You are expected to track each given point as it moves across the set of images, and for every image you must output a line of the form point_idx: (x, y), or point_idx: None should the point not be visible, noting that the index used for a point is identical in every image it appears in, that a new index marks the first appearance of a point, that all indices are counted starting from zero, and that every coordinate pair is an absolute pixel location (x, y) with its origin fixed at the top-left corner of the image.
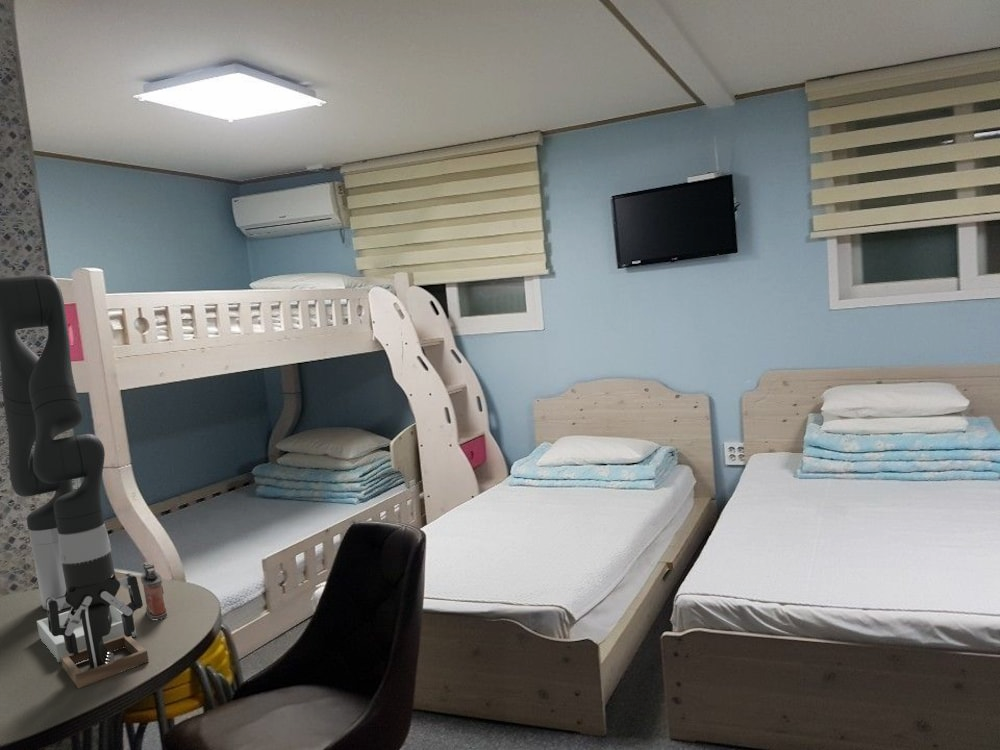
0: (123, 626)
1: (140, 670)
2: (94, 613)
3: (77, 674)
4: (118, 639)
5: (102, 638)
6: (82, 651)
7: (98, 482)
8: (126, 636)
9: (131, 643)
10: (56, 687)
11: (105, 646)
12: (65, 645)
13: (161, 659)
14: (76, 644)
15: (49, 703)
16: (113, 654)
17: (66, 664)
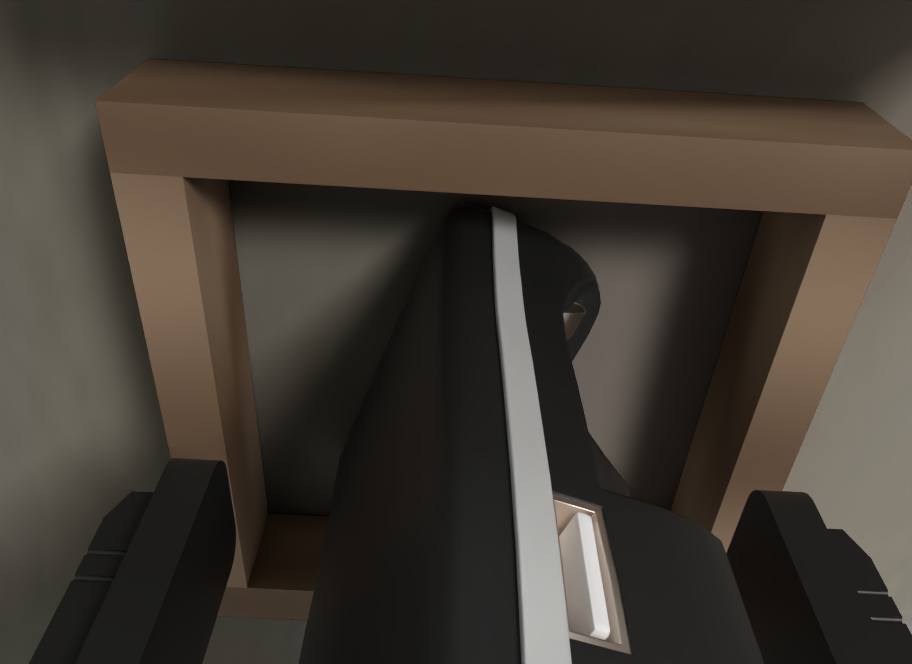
0: (787, 572)
1: None
2: None
3: None
4: (762, 207)
5: (564, 351)
6: (344, 179)
7: None
8: (854, 227)
9: (752, 439)
10: (88, 409)
11: (569, 294)
12: (85, 562)
13: None
14: (200, 657)
15: (49, 568)
16: (596, 309)
17: (150, 352)
